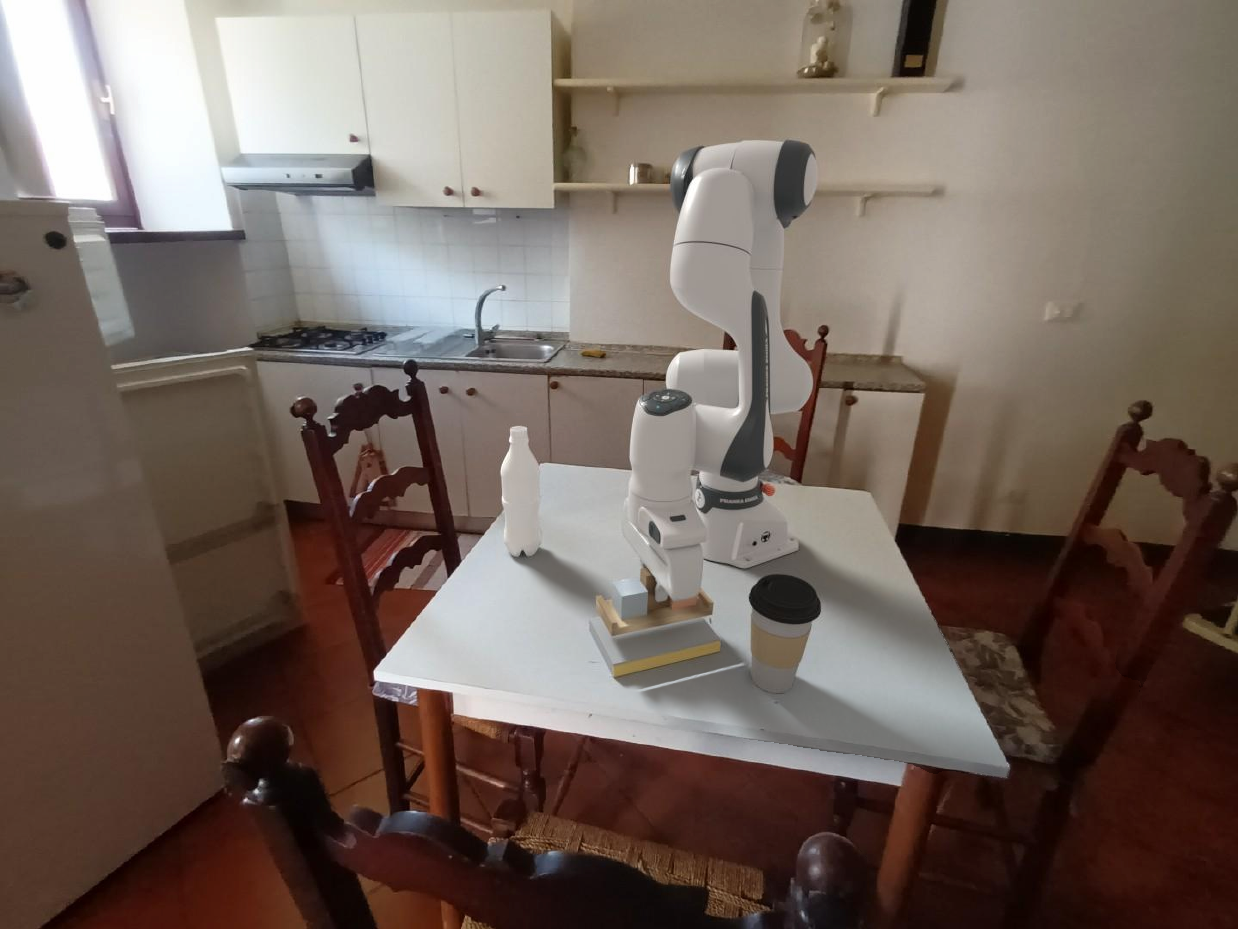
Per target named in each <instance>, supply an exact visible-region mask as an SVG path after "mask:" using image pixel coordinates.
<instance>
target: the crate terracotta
mask: <svg viewBox="0 0 1238 929" xmlns="http://www.w3.org/2000/svg"><path fill="white" fill-rule="evenodd" d="M696 603H697V596H696V597H694V598H691V599H687V600H682V601H673V600H672V599H671V598H670V608H671V609H672V610H673V609H678V608H683V607H688V606H693V605H696Z"/></svg>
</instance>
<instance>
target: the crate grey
mask: <svg viewBox="0 0 1238 929" xmlns="http://www.w3.org/2000/svg"><path fill="white" fill-rule="evenodd" d="M611 599H612V606H613V608H614V609H615V611H616V613H617V614H618V616H619V618H620V619H621V620H625V619H630V618H635V617H639V616H644V615H647V603H648V591H647V589H646V588H645V587H644V585H643V584H642V583H641V581H640V577H638V576H635V577H631V578H625V579H620V580H613V581H612V582H611Z"/></svg>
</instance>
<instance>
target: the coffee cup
mask: <svg viewBox="0 0 1238 929" xmlns="http://www.w3.org/2000/svg"><path fill="white" fill-rule="evenodd" d="M817 594H818V593H817V591H816V589H815V588H814V587H813V586H812V585H811V584H810V583H809V582H808V581H806V580H803V579H802V578H800V577H797V576H793V575H788V574H784V573H783V574H781V573H776V574H775V573H774V574H773V573H772V574H768V575H764V576H763V577H761V578H760V579H758V581H757V582H756V583H755V584H754V585H753V586H752V587H751V589H750V592H749V595H748V602H749V604H750V606H751V614H750V652H751V668H750V669H751V670H750V672H751V673H750V676H751V680H752V682H753V683H754V684H755V686H756V687H758V688H759V689H762V690H763V691H765V692H769V693H771V694H784V693H787V692H788V691H790V690H791V688H792V687H793V684H794V681H795V678H796V675H797V673H798V668H799V665H800V663H801V661H802V660H803V656H804V653H805V649H806V648H807V643H808V641H809V636H810V634H811V631H812V623H813V621H815V620H816V619H818V618H819V616H820V615H821V613H822V606H821V605H822V604H821V600H820V598H819V596H818V595H817Z"/></svg>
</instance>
